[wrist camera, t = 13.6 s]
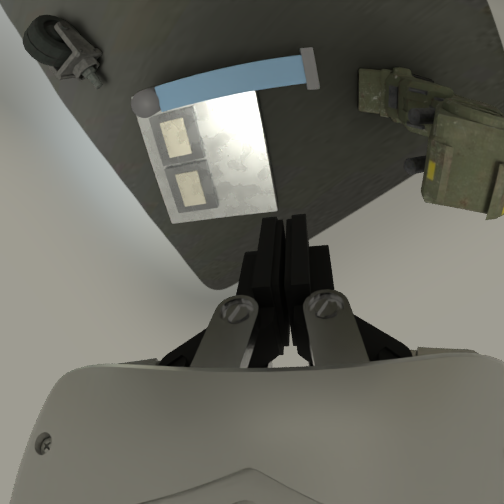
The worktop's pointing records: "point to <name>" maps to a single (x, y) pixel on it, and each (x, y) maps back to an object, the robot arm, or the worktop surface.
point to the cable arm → (228, 83)
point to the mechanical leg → (443, 138)
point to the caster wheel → (62, 49)
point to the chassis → (211, 158)
